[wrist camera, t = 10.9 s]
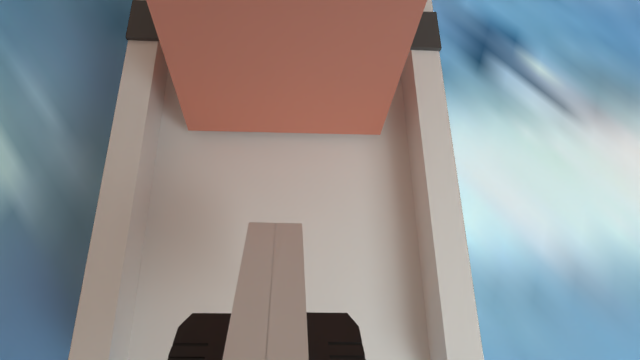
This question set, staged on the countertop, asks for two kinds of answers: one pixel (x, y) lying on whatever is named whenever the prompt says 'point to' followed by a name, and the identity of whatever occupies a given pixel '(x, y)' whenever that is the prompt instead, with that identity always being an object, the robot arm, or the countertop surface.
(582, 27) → the countertop surface
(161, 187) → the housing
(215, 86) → the orange rectangular block
